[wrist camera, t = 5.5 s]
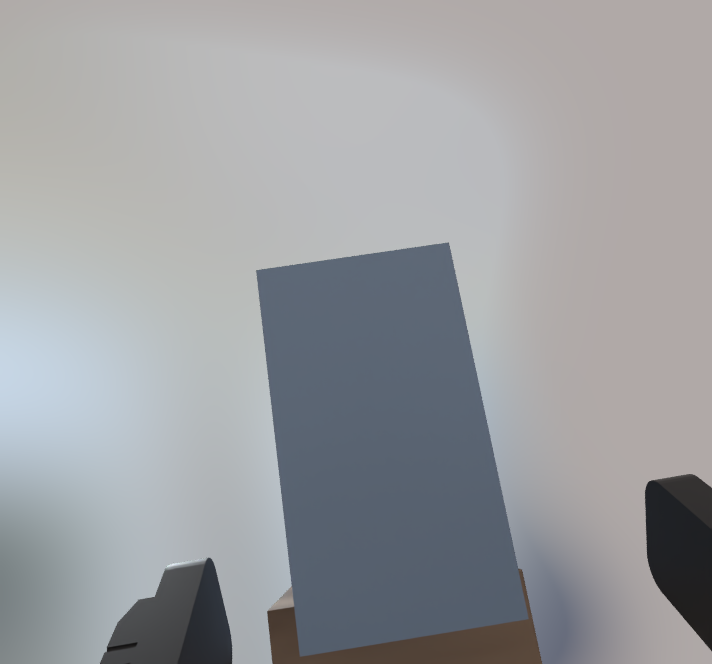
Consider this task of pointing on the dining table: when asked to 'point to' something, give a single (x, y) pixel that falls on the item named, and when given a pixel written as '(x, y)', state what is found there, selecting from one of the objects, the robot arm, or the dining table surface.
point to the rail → (384, 452)
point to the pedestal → (413, 643)
